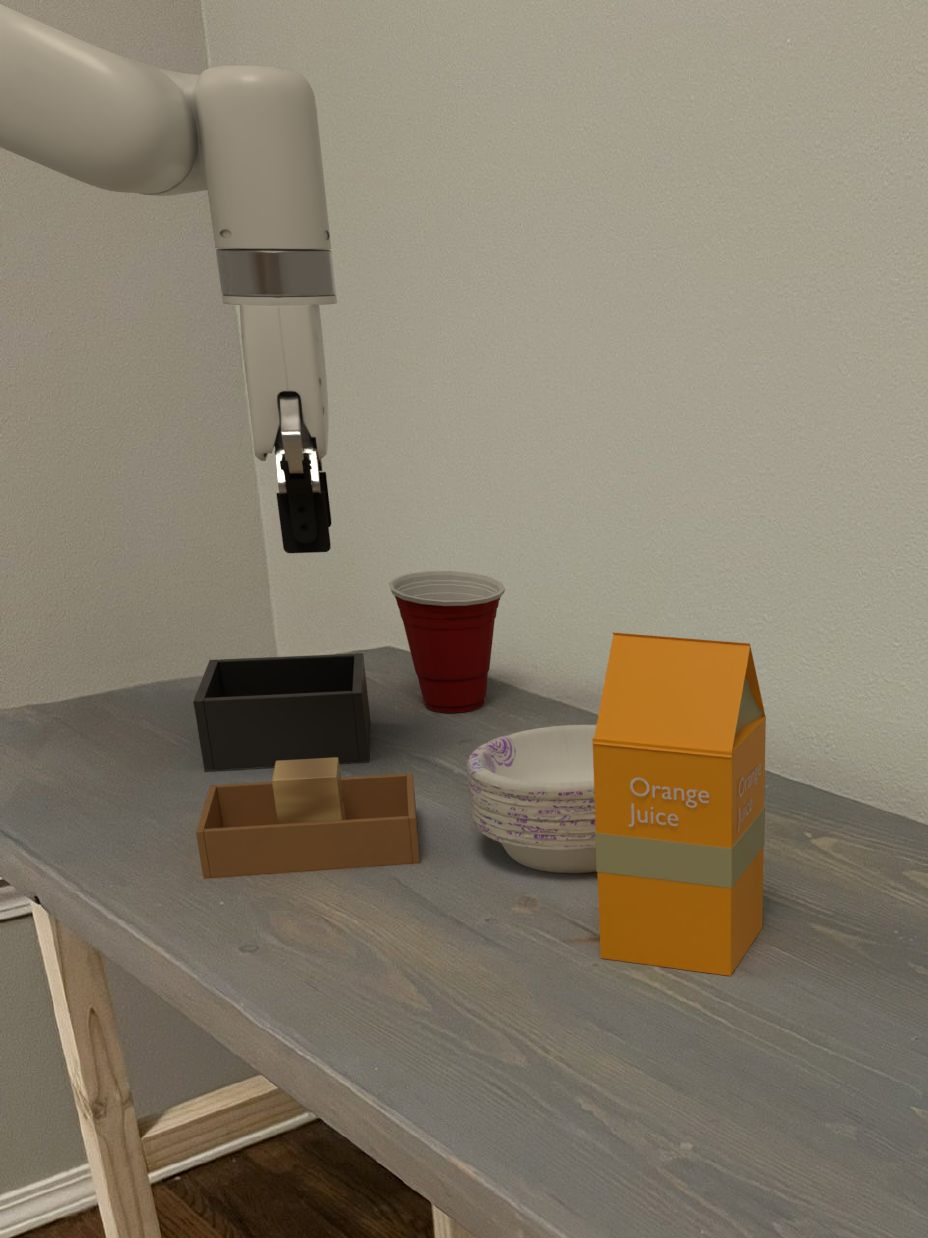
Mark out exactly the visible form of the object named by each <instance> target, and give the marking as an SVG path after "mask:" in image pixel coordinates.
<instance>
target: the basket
mask: <svg viewBox="0 0 928 1238" xmlns="http://www.w3.org/2000/svg"><path fill="white" fill-rule="evenodd" d="M366 674H367V673H366V666H365V656H364V653H363V652H358V653H356V652H355V653H338V654H336V653H335V654H316V655H315V654H314V655H292V656H291V655H289V656H268V657H244V658H242V657H241V658H220V659H209V660H208V663H207V666H206V668H205V671H204V673H203V674H202V675H203V676H202V678H201V680H200V683H199V686H198V688H197V691H196V693H195V695H194V699H193V701H192V702H193V708H194V715H195V720H196V728H197V734H198V739H199V745H200V752H201V756H202V758H201V759H202V765H203V770H204V773H214V772H215V773H216V772H231V771H233V772H234V771H250V770H265V769H274V768H275V763H276V761H281V760H299V759H317V758H334V757H338V759H339V765H352V764H353V765H354V764H369V763H370V761H371V728H372V727H371V724H372V720H371V712H370V702H369V693H368V684H367V675H366Z"/></svg>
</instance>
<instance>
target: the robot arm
mask: <svg viewBox="0 0 928 1238" xmlns="http://www.w3.org/2000/svg"><path fill="white" fill-rule="evenodd" d="M0 148H1V149H3V150H5V151H8V152H10V153H13V154H15V155H18V156H20V157H22V158H24V159H27V160H29V161H32V162H34V163H36V164H39V165H40V166H43V167H45V168H47V169H50V170H53V171H55V172H57V173H59V174H62V175H64V176H67V177H69V178H71V179H73V180H76V181H79V182H81V183H84V184H87V185H89V186H92V187H95V188H98V189H100V190H105V191H108V192H115V193H125V194H139V195H144V196H155V197H158V196H159V197H161V196H162V197H166V196H167V197H169V196H175V195H176V196H178V195H185V194H192V193H199V192H204V191H207V195H208V203H209V204H208V205H209V210H210V218H211V226H212V233H213V241H214V248H215V249H216V250H215V253H216V262H217V268H218V276H219V284H220V291H221V297H222V304H223V305H233V306H239V320H240V336H241V337H240V338H241V345H242V357H243V365H244V373H245V381H246V391H247V397H248V398H247V399H248V406H249V414H250V423H251V431H252V440H253V441H252V442H253V450H254V456H255V457H256V458H257V459H258V460H259V461H260V462H266V461H267V459H268V456H269V454H273V451H274V455H275V456H274V457H275V464H276V475H277V476H276V477H277V486H278V492H276V494H275V495H276V502H277V509H278V517H279V525H280V533H281V539H282V540H281V541H282V548H283V551H284V552H285V553H287V554H311V553H328V552H329V551H330V550H331V546H332V545H331V536H330V527H331V526H332V514H331V506H330V496H329V487H328V479H327V478H328V477H327V472H326V471H323V461H322V459H323V458H324V457H326V455H327V454H328V445H329V396H328V382H327V381H328V380H327V369H326V357H325V349H324V348H325V347H324V338H323V328H322V319H321V309H320V306H326V305H336V304H338V299H337V291H336V289H337V288H336V281H335V269H334V262H333V251H332V243H331V234H330V233H331V232H330V224H329V216H328V215H329V214H328V206H327V205H328V204H327V195H326V185H325V176H324V175H325V174H324V165H323V157H322V156H323V155H322V149H321V137H320V128H319V118H318V109H317V103H316V96H315V93H314V90H313V88H312V86H311V84H310V82H309V81H308V80H307V78H306V77H305V76H304V75H302V73H300V72H297V71H295V70H293V69H289V68H284V67H278V66H272V65H271V66H270V65H255V64H228V65H227V64H226V65H225V64H224V65H218V66H211V67H209V68H207V69H204V70H203V71H202V72H201V73H200V74H195V73H187V72H179V71H174V70H169V69H165V68H160V67H157V66H155V65H151V64H148V63H145V62H141V61H139V60H136V59H133V58H131V57H127V56H125V55H124V56H123V55H120V54H117V53H114V52H111V51H110V50H108V49H107V50H106V49H104V48H101V47H99V46H97V45H94V44H93V43H90V42H88V41H84V40H83V39H80V38H78V37H75V36H73V35H71V34H69V33H66V32H64V31H61V30H59V29H57V28H55V27H52V26H50V25H48V24H46V23H44V22H41V21H39V20H38V19H36V18H35V19H34V18H32V17H30V16H28V15H27V14H26V15H25V14H24V13H21V12H20V11H17V10H15V9H13V8H11V7H9V6H6V5H4V4H1V3H0Z"/></svg>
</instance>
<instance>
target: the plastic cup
mask: <svg viewBox="0 0 928 1238" xmlns="http://www.w3.org/2000/svg"><path fill="white" fill-rule="evenodd" d="M388 587H389V589H390V592H391V595H393V596H394V598H395V601H396V605H397V607H398V611H399V614H400V617H401V620H402V623H403V624H402V625H403V628H404V631H405V635H406V640H407V643H408V649H409V652H410V655H411V660H412V664H413V668H414V672H415V674H416V676H417V680H418V684H419V688H420V693H421V696H422V699H423V702H424V705H425V706H426V709H427V710H430V711H432V712H438V713H445V714H446V713H448V714H453V713H454V714H457V713H466V712H467V713H468V712H471V711H475V710H478V709H481V708H483V706H484V705H485V699H486V697H487V688H488V678H489V677H488V676H489V671H490V667H491V658H492V657H491V656H492V648H493V639H494V629H495V620H496V617H497V612H498V608H499V605H500V600H501V597H502V596H503V595H504V594H505V591H506V587H505V585H504V584H503V582H501V581H500V580H498V579H496V578H493V577H491V576H488V575H482V574H480V573H479V574H478V573H474V572H465V571H456V570H426V571H418V572H410V573H406V574H403V575H401V576H400V575H399V576H396V577H394V578H393V579H392V580H391V581H389V582H388Z"/></svg>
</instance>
